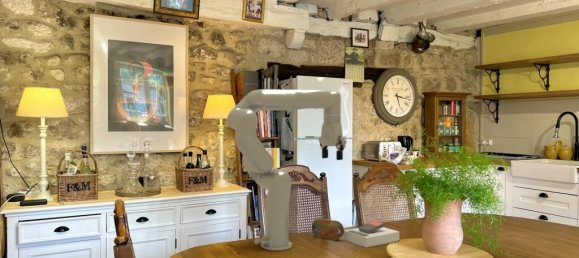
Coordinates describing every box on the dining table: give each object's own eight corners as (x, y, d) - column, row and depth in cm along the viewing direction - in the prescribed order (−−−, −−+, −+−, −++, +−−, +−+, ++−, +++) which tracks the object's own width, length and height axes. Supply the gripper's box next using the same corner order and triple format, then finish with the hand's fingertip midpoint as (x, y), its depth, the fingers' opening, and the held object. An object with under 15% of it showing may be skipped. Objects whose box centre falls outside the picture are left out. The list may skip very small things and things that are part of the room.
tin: (311, 236, 193) (311, 217, 193) (314, 234, 195) (315, 216, 195) (341, 242, 184) (341, 222, 184) (344, 240, 187) (345, 221, 187)
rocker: (368, 233, 183) (368, 230, 182) (358, 230, 188) (358, 227, 187) (384, 226, 188) (384, 223, 188) (374, 223, 193) (374, 220, 193)
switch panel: (366, 247, 176) (366, 236, 176) (343, 239, 188) (343, 229, 188) (399, 240, 188) (399, 230, 188) (375, 233, 199) (376, 223, 199)
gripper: (313, 120, 193) (313, 158, 194) (338, 120, 179) (338, 161, 180) (326, 120, 198) (326, 157, 198) (352, 120, 183) (352, 160, 184)
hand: (332, 159), depth 189 cm, fingers open, 9 cm apart
